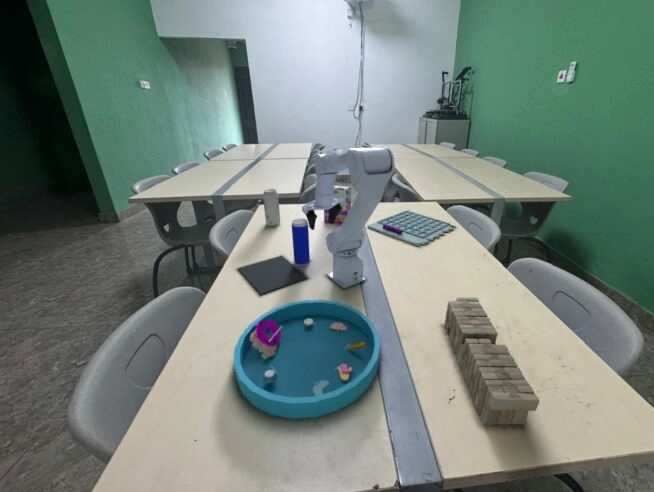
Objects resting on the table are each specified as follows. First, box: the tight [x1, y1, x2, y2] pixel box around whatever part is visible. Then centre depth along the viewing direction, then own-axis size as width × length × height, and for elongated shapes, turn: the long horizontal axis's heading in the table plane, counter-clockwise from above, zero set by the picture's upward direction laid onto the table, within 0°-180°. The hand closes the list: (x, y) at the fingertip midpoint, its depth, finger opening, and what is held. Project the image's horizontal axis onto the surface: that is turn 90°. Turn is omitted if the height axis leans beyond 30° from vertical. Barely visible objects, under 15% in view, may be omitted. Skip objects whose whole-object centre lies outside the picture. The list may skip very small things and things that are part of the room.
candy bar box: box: [323, 184, 352, 226], centre depth 138 cm, size 11×5×16 cm, turn 73°
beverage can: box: [291, 218, 311, 267], centre depth 103 cm, size 5×5×15 cm
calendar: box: [367, 210, 457, 248], centre depth 138 cm, size 27×29×2 cm
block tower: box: [443, 297, 540, 426], centre depth 66 cm, size 8×8×29 cm
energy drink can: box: [262, 188, 281, 227], centre depth 134 cm, size 6×6×15 cm
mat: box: [237, 255, 309, 296], centre depth 99 cm, size 18×15×1 cm
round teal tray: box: [233, 299, 381, 420], centre depth 68 cm, size 30×30×6 cm
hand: (321, 225), depth 108 cm, fingers open, 7 cm apart
